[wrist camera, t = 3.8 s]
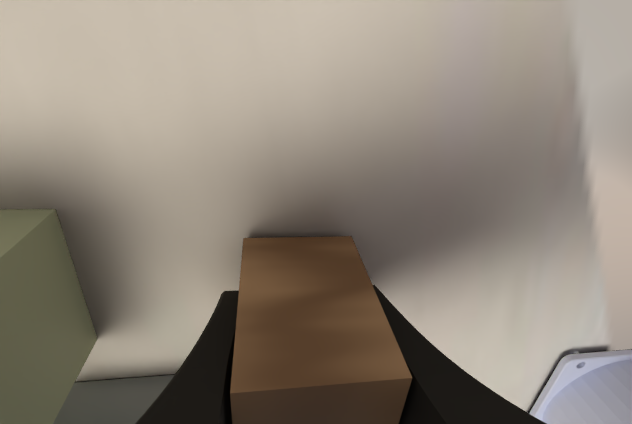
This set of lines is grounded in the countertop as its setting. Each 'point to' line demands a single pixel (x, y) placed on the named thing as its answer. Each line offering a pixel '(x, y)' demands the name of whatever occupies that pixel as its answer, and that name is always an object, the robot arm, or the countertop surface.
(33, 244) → the olive block
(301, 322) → the walnut block
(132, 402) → the grey tray
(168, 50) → the countertop surface
